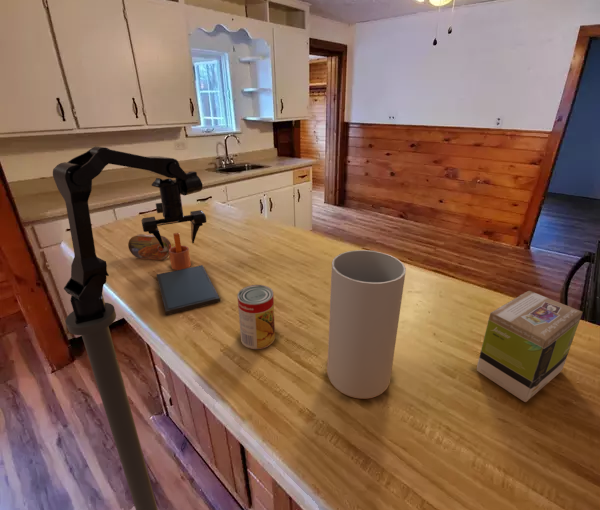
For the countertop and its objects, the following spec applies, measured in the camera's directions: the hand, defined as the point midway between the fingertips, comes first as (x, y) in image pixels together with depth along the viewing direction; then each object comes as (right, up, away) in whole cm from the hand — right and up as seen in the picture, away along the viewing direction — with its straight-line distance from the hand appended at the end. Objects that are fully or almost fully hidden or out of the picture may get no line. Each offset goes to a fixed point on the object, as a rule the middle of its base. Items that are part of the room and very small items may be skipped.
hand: (178, 245), depth 109 cm
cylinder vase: (+51, -26, -41) cm, 71 cm away
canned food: (+30, -21, -31) cm, 48 cm away
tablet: (+6, -13, -11) cm, 18 cm away
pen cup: (0, -7, +3) cm, 7 cm away
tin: (-12, -5, +9) cm, 16 cm away
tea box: (+84, -25, -40) cm, 97 cm away
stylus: (0, -6, +3) cm, 7 cm away
